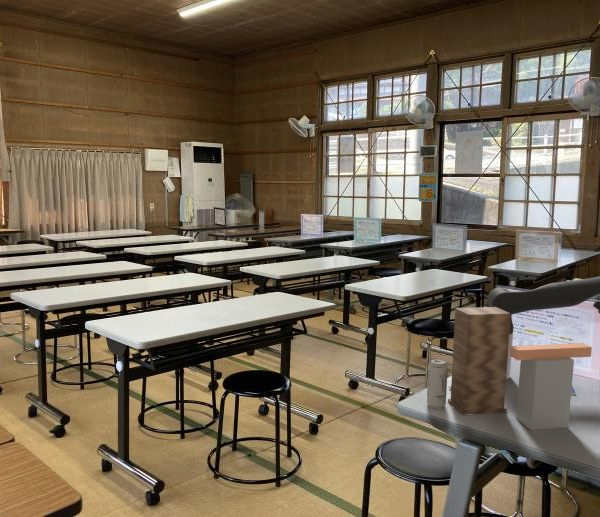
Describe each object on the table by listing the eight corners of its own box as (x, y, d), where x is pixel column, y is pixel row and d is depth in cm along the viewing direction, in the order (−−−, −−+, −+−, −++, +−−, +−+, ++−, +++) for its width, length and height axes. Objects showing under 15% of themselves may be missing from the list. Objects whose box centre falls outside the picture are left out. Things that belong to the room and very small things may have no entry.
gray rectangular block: (531, 430, 163) (536, 361, 160) (516, 418, 171) (521, 353, 168) (568, 427, 165) (574, 359, 162) (551, 416, 173) (557, 351, 170)
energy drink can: (439, 411, 176) (442, 365, 174) (423, 406, 180) (425, 361, 178) (449, 405, 180) (451, 361, 178) (432, 400, 184) (434, 357, 182)
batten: (517, 360, 161) (517, 350, 161) (509, 355, 165) (510, 346, 165) (590, 356, 165) (591, 347, 165) (582, 352, 169) (582, 343, 169)
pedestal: (461, 415, 173) (467, 315, 168) (447, 402, 183) (452, 307, 178) (506, 412, 176) (513, 313, 171) (490, 399, 186) (496, 306, 181)
